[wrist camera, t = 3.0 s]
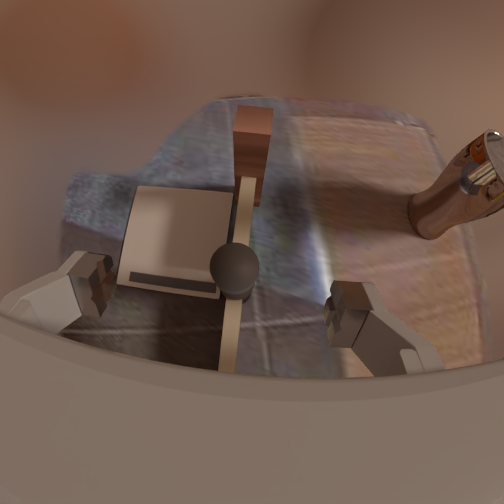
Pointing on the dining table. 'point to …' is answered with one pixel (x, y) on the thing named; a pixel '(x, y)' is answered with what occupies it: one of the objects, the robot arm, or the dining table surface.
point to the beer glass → (462, 188)
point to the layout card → (174, 240)
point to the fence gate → (249, 164)
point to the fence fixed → (233, 293)
